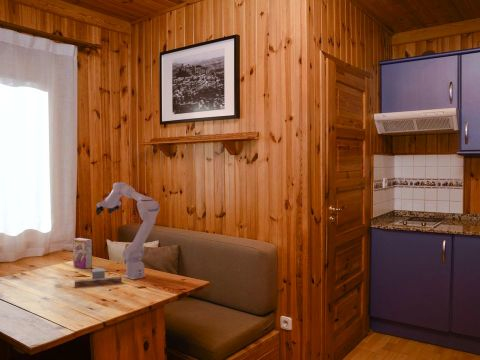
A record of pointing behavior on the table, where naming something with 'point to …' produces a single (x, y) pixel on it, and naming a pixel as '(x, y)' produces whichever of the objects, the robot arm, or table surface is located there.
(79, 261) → the candy bar box
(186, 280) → the table surface
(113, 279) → the walnut batten
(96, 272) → the slate block
